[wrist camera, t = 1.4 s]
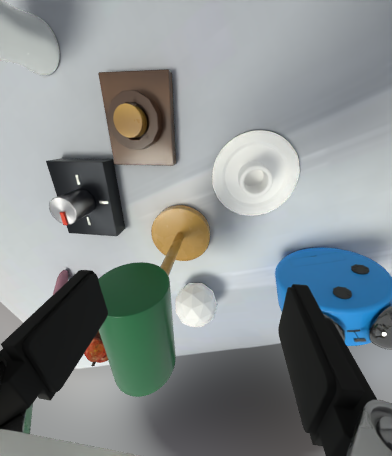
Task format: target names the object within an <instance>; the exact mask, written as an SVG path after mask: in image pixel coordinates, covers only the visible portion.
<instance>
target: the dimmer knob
mask: <svg viewBox="0 0 392 456" xmlns="http://www.w3.org/2000/svg"><path fill="white" fill-rule="evenodd" d="M95 205H96V204H95V200H94V198H93V196H92V195H91V194H90V193H89V192H88V191H86V190H83V189H76V190H74V191H71V192H69V193H66V194H63V195H61V196H58V197H56V198H53V199H52V200H51V201H50V203H49V209H50V212H51V214H52V216H53V217H54V218H55V219H56V220H57V221H59V222H60V223H63V225H68V224H72V223H74V222H76V221H77V220H79V219H81V218H83V217H84V216H86V215H88V214H89V213H91V212H92V211H94V209H95Z"/></svg>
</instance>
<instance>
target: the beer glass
mask: <svg viewBox="0 0 392 456" xmlns="http://www.w3.org/2000/svg"><path fill="white" fill-rule="evenodd" d="M59 58H60V52H59V46H58V42H57V39H56V37H55V35H54V33H53V31H52V29H51V28H50V27H49V25H48V24H47V23H46V22H45V21H44V20H43V19H41V18H40V17H38V16H36V15H34V14H32V13H29V12H26V11H23V10H20V9H18V8H16V7H14V6H12V5H11V4H9V3H7V2H6V1H5V0H0V61H5V62H11V63H15V64H18V65H20V66H22V67H24V68H26V69H28V70H29V71H31V72H33V73H35V74H38V75H42V76H47V75H50V74H52V73H53V72H54V71H55V70H56V69H57V67H58V64H59Z"/></svg>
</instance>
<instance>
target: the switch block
mask: <svg viewBox="0 0 392 456" xmlns="http://www.w3.org/2000/svg"><path fill="white" fill-rule="evenodd" d="M99 79H100V85H101V90H102V96H103V102H104V107H105V113H106V119H107V124H108V130H109V136H110V141H111V147H112V153H113V158H114V164H119V165H170V166H173V165H175V164H176V153H175V131H174V108H173V86H172V73H171V72H170V71H169V70H145V71H122V72H99ZM124 103H127V104H131V105H135V106H137V107H139V108H140V109H142V111H143V112H144V113H145V115H146V118H147V129H146V131H145V133H144V134H143V135H142V136H140V137H134V138H128V137H125V136H123V135H121V134H120V133H119V132H118V130H117V129H116V127H115V125H114V120H113V116H114V112H115V110H116V108H117V107H118V106H119V105H121V104H124Z"/></svg>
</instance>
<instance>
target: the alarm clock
mask: <svg viewBox="0 0 392 456" xmlns="http://www.w3.org/2000/svg"><path fill="white" fill-rule="evenodd" d="M275 277H276V285H277V293H278V302H279V306H280V308H281V311H282V310H283V306H284V301H285V297H286V292H287V288H288V287H291V286H292V285H293V284H300V285H307V286H308V287H309V289H310V290H311V292H312V294H313V296H314V298H315V300H316V302H317V303H318V305H319V307H320V309H321V311H322V313H323V315H324V317H325V318H329V319H331V320H332V321H333V323H334V324H335V326H336V328H337V330H338V331H339V333H340V335H341V337H342V338H343V340H344V342H345V344H346V345H347V346H357V345H363V344H368V343H371V342H372V343H374V344H375V345H377V346H379V347H381V348H384V349H390V350H392V277H391V276H390V274H389V273H388V272H387V271H386V270H385V269H384V268H383V267H382V266H381V265H379V264H378V263H376V262H375V261H373V260H371V259H369V258H367V257H365V256H363V255H360V254H357V253H354V252H351V251H347V250H342V249H336V248H308V249H303V250H299V251H296V252H293V253H291V254H289V255H287V256H286V257H284V258H283V259H282V260H281V261H280V262H279V264H278V265H277V268H276V272H275Z"/></svg>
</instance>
